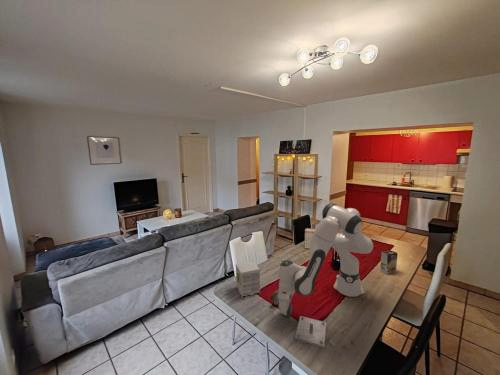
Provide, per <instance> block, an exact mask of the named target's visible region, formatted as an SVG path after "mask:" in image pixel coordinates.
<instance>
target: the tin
mask: <svg viewBox="0 0 500 375" xmlns="http://www.w3.org/2000/svg"><path fill="white" fill-rule="evenodd" d="M278 292H279V288H278V289H276V290H275V291H273V292H272V293H271V295H270V303H272V305H275V306H277V305H279V304H278V303H279V299H278Z"/></svg>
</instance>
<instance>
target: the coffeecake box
mask: <svg viewBox="0 0 500 375" xmlns="http://www.w3.org/2000/svg"><path fill="white" fill-rule="evenodd" d="M315 229H316V228H310V227H309V228H308V227H306V228H305V229H304V249H305V248H310V241H311V238H312V235H313V233H314V231H315Z"/></svg>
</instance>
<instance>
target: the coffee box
mask: <svg viewBox="0 0 500 375" xmlns="http://www.w3.org/2000/svg"><path fill="white" fill-rule="evenodd" d="M380 255H381V256H380V257H381V258H380V269H379V272H381V273H383V274H385V275H391V274H396V273H397V263H398V252H396V251H394V250H391V249H388V250H383V251H381V254H380Z"/></svg>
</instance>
